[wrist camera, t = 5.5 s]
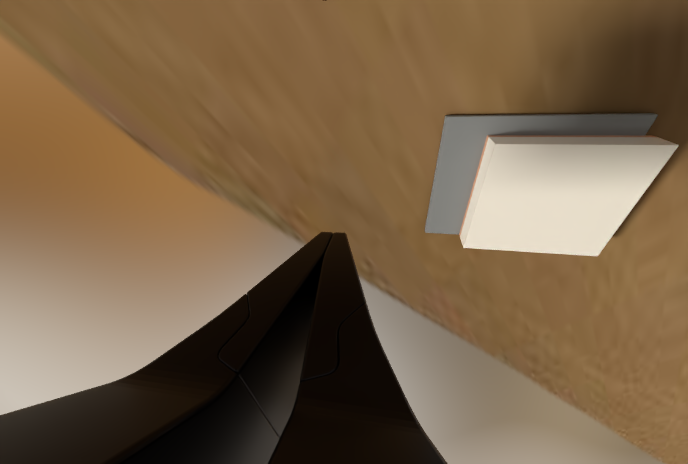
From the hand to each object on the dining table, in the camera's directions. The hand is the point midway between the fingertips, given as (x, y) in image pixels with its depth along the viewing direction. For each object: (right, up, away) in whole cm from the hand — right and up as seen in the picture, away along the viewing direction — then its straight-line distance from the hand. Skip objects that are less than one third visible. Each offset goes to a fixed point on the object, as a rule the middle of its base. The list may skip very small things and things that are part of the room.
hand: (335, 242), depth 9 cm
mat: (+11, +3, +7) cm, 14 cm away
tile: (+8, +3, +7) cm, 11 cm away
